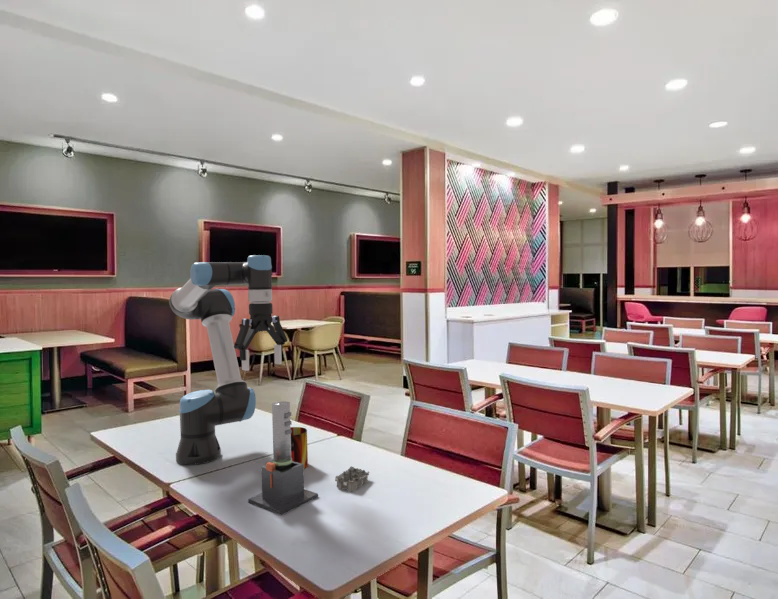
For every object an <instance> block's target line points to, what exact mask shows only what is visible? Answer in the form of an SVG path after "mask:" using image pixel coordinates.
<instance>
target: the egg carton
mask: <svg viewBox="0 0 778 599" xmlns="http://www.w3.org/2000/svg"><path fill="white" fill-rule="evenodd" d="M369 475H370V471H366V470H364V469H363V470H362V468H358V467H357V468H355V466H350V467H349V468H348V469H347V470H345V471H342V473H340V474H339V475H336V476H335V477H334V478H335V479H334V482H336V488H337V489H338V490H344V489H345V490H347V492H352V491H357V490H358V488H359V487H362V486H363V483H368V477H369ZM350 479H351V480H350Z"/></svg>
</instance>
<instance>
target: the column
mask: <svg viewBox="0 0 778 599" xmlns="http://www.w3.org/2000/svg"><path fill="white" fill-rule="evenodd" d="M271 416H272V445H273V446H272V449H273V452H272V454H273V459H272V463H275V470H279V471H284V470H287V469H289V468H291V465H292V458H291V433H292V430H291V429H290V427H291V426H292V420H291V416H292V412H291V403H290V402H289V401H283V400H282V401H275V402H272V403H271Z"/></svg>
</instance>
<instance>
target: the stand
mask: <svg viewBox="0 0 778 599" xmlns="http://www.w3.org/2000/svg"><path fill="white" fill-rule="evenodd" d="M304 470H305V468H304V464H301V463H298V462H294V461H292V465H291V468H289V469H287V470H284V471H279V470H275V463H273V462H271V461H269V462H266V463H265V465H263V466H261V493H259V494H257V495H254V496H252V497H250V498H248V499H247V500H248V503H249V504H251V505H253V506H256V507H259V508H261V509H265V510H267V511H270V512H272V513H274V514H277V515H280V516H282V515H285V514H287V513H288V512H291V511H294V510H296V509H297V508H299V507H301V506H303V505H305V504H307V503H309V502H310V501H313V500H316V499H317V498H318V497H319V493H318V492H314V491H311V490H308V489H305V472H304Z"/></svg>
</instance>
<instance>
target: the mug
mask: <svg viewBox="0 0 778 599" xmlns="http://www.w3.org/2000/svg"><path fill="white" fill-rule="evenodd" d="M290 429H291V430H292V433H291V458H292V461H294V462H298V463H301V464H304V469H306V468H308V466H309V464H308V463H309V462H308V461H309V460H308V458H309V457H308V430H307V428H305V427H302V426H290Z"/></svg>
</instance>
